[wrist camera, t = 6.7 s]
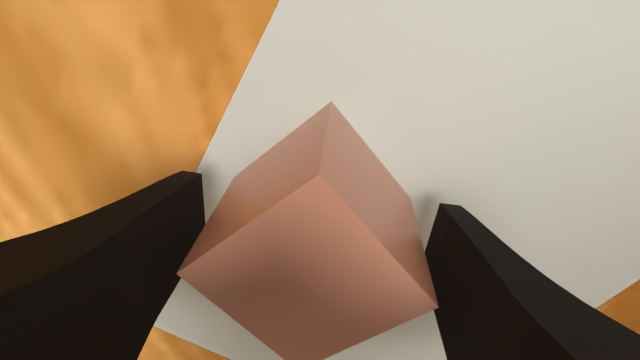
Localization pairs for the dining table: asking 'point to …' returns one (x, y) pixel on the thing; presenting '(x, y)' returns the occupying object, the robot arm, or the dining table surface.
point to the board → (453, 135)
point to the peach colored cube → (314, 245)
